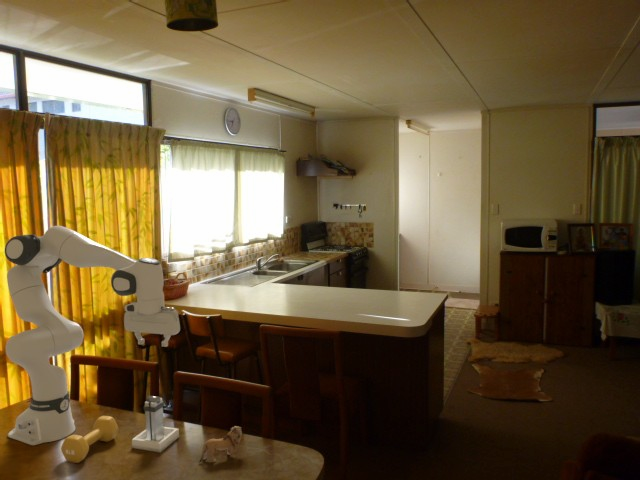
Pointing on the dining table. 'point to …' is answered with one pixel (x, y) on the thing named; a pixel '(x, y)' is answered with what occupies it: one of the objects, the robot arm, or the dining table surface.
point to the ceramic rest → (145, 444)
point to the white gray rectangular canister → (154, 418)
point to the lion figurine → (223, 443)
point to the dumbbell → (89, 439)
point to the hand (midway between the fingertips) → (153, 345)
